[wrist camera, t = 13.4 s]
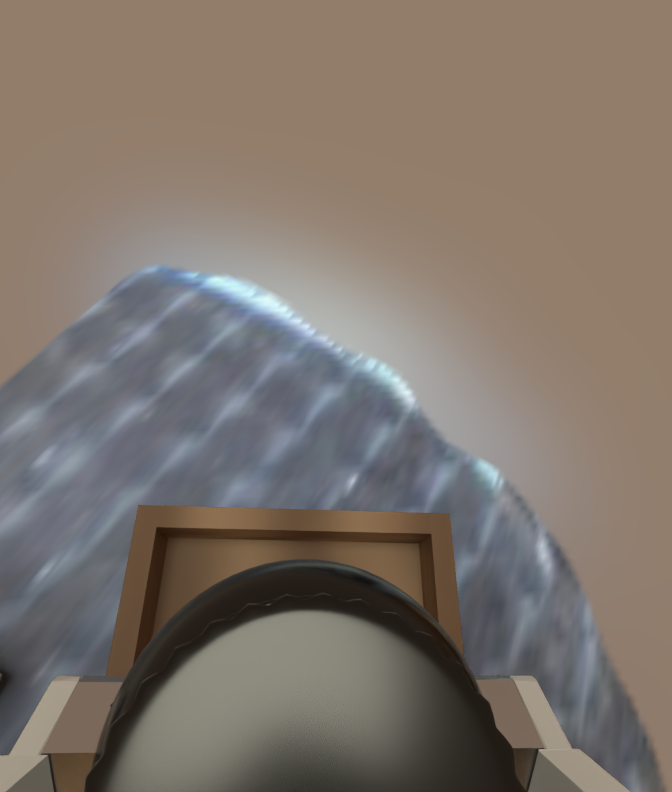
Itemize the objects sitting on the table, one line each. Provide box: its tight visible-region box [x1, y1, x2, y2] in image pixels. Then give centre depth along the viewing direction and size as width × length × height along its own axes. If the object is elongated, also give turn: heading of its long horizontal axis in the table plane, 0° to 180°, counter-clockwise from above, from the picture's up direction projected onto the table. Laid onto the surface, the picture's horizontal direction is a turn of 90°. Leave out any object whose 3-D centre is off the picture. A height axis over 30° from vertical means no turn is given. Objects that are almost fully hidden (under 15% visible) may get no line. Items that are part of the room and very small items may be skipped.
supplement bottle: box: [84, 559, 526, 792], centre depth 10 cm, size 7×7×12 cm
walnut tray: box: [106, 505, 464, 677], centre depth 22 cm, size 15×15×4 cm
